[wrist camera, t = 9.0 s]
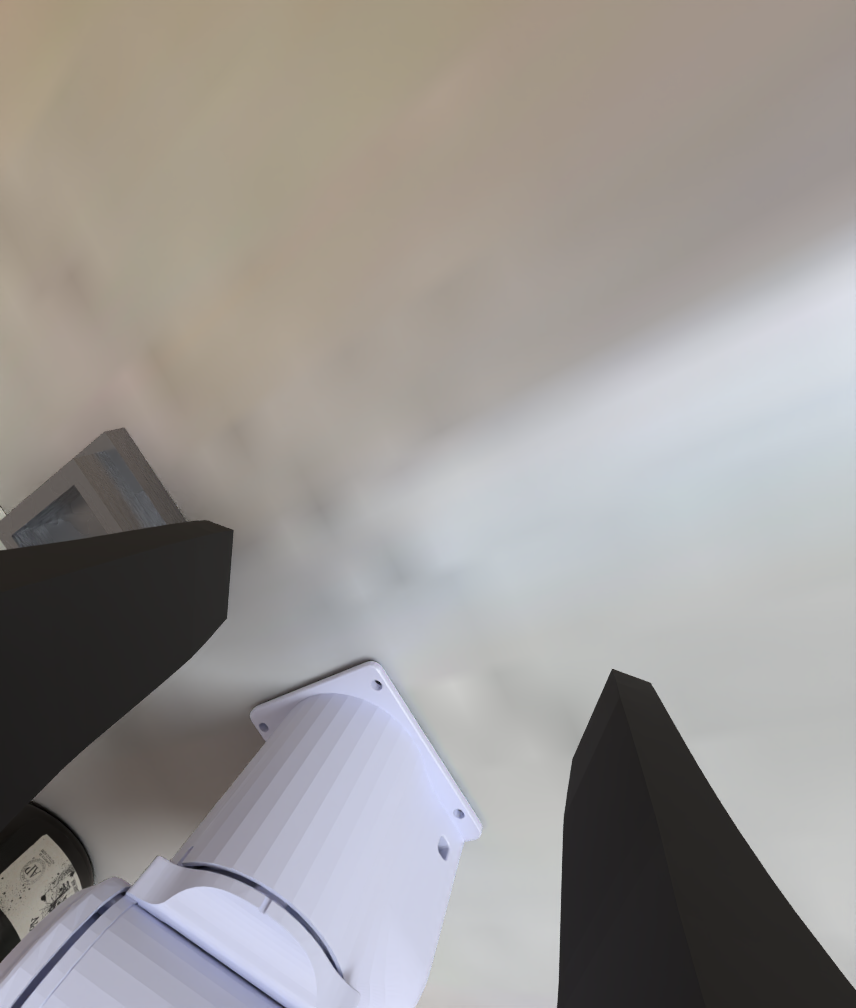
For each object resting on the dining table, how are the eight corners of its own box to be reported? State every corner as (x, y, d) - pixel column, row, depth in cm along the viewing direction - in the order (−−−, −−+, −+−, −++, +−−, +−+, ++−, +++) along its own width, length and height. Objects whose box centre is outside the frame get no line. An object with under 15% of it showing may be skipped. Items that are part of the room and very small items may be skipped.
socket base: (225, 580, 24) (186, 606, 22) (123, 637, 27) (80, 665, 25) (124, 427, 23) (72, 438, 21) (30, 505, 26) (-23, 522, 24)
